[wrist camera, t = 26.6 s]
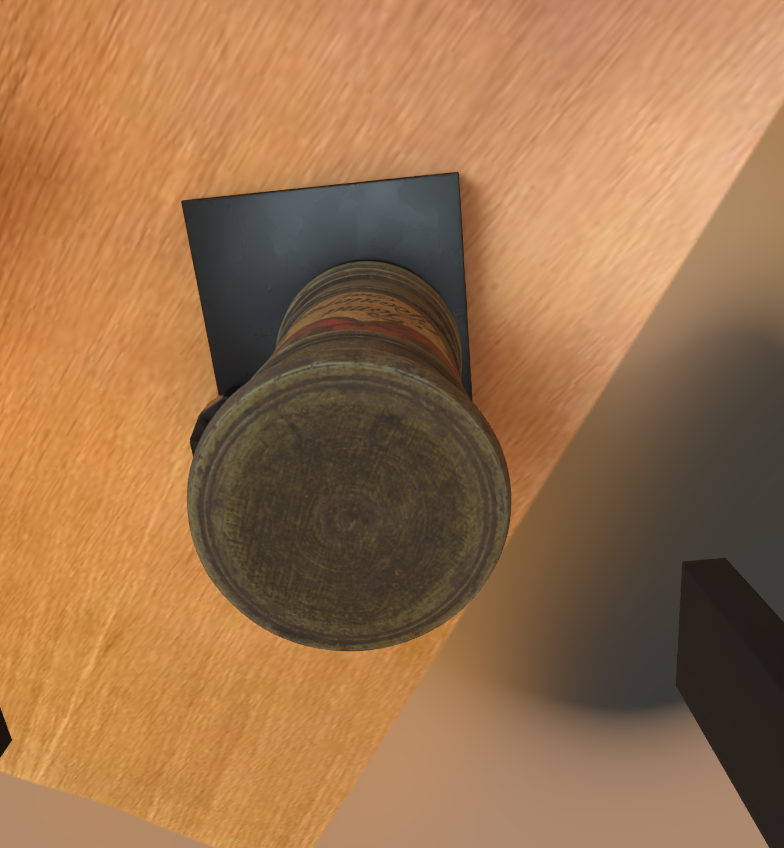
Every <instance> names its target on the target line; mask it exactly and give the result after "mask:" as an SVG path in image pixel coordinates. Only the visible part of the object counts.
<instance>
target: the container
mask: <svg viewBox="0 0 784 848" xmlns="http://www.w3.org/2000/svg"><path fill="white" fill-rule="evenodd" d="M461 374H462V348H461V340H460V336H459V331H458V328H457V325H456V322H455V320H454V318H453V316H452V314H451V312H450V310H449V308H448V306H447V305H446V303H445V302H444V300H443V299H442V298H441V296H440V295H439V294H438V293H437V292H436V291H435V290H434V289H433V288H432V287H431V286H430V285H429V284H428V283H427V282H426V281H424V280H423V279H422V278H420V277H419V276H417V275H416V274H414V273H412V272H410V271H408V270H406V269H404V268H401V267H399V266H396V265H392V264H388V263H383V262H376V261H358V262H351V263H346V264H342V265H339V266H336V267H333V268H331V269H329V270H327V271H325V272H323V273H321V274H320V275H318V276H317V277H315V278H314V279H312V280H311V281H310V282H309V283H308V284H306V285H305V286H304V287H303V288H302V289H301V291H300V292H299V293H298V294H297V295H296V297H295V298H294V300H293V301H292V303H291V304H290V306H289V308H288V310H287V312H286V314H285V317H284V319H283V322H282V324H281V327H280V330H279V333H278V338H277V343H276V347H275V350H274V352H273V354H272V355H271V357H270V358H269V359H268V361H267V362H266V363H265V364H264V365H263V366H262V367H261V368H260V369H259V370H258V371H257V372H256V374H255V375H254V376H253V377H252V379H251V380H250V381H248V382H247V383H246V384H245V385H243V386H242V387H241V388H239V389H238V390H237V391H236V392H235V393H234V394H233V395H232V396H231V397H229V398H228V399H227V401H226V402H225V403H224V404H223V405H222V406H221V407H220V408H219V410H218V411H217V412H216V413H215V415H214V416H213V418H212V419H211V421H210V422H209V424H208V425H207V427H206V429H205V431H204V432H203V434H202V436H201V439H200V441H199V443H198V445H197V448H196V451H195V454H194V457H193V460H192V464H191V468H190V472H189V479H188V490H187V507H188V519H189V526H190V531H191V535H192V539H193V542H194V545H195V548H196V551H197V554H198V556H199V558H200V560H201V562H202V564H203V566H204V568H205V570H206V572H207V574H208V575H209V577H210V578H211V580H212V581H213V583H214V584H215V585H216V587H217V588H218V589H219V590H220V592H221V593H222V594H223V595H224V596H225V597H226V598H227V599H228V600H229V601H230V602H231V603H232V604H233V605H234V606H235V607H236V608H237V609H238V610H239V611H240V612H241V613H243V614H244V615H245V616H246V617H248V618H249V619H250V620H252V621H253V622H255V623H256V624H258V625H259V626H261V627H262V628H264V629H266V630H268V631H269V632H271V633H273V634H275V635H278V636H280V637H282V638H284V639H287V640H290V641H292V642H295V643H298V644H301V645H305V646H309V647H314V648H318V649H325V650H334V651H364V650H373V649H380V648H385V647H390V646H394V645H397V644H401V643H404V642H407V641H409V640H412V639H415V638H417V637H420V636H422V635H424V634H426V633H428V632H430V631H432V630H434V629H435V628H437V627H439V626H440V625H442V624H443V623H445V622H446V621H448V620H449V619H451V618H452V617H453V616H454V615H456V614H457V613H458V612H459V611H461V610H462V609H463V608H464V607H465V606H466V605H467V604H468V603H469V602H470V601H471V600H472V599H473V598H474V597H475V595H476V594H477V593H478V592H479V591H480V589H481V588H482V587H483V585H484V584H485V582H486V581H487V579H488V578H489V576H490V575H491V573H492V571H493V570H494V568H495V566H496V564H497V562H498V560H499V558H500V555H501V553H502V550H503V547H504V544H505V541H506V538H507V534H508V530H509V524H510V515H511V486H510V479H509V473H508V468H507V464H506V460H505V457H504V454H503V451H502V448H501V446H500V443H499V441H498V439H497V437H496V435H495V433H494V432H493V430H492V428H491V426H490V425H489V423H488V422H487V420H486V419H485V417H484V416H483V415H482V413H481V412H480V411H479V409H478V408H477V406H476V405H475V404H474V403H473V402H472V401H471V400H470V398H469V396H468V394H467V393H466V391H465V389H464V387H463V384H462V382H461Z"/></svg>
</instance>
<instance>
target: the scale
mask: <svg viewBox="0 0 784 848" xmlns="http://www.w3.org/2000/svg"><path fill="white" fill-rule="evenodd" d="M181 203H182V208H183V213H184V218H185V223H186V228H187V234H188V239H189V244H190V249H191V254H192V259H193V265H194V270H195V275H196V280H197V285H198V290H199V296H200V301H201V306H202V311H203V316H204V321H205V327H206V332H207V337H208V342H209V347H210V352H211V358H212V363H213V368H214V373H215V378H216V383H217V389H218V394H219V396H218V397H216V398H215V399H214V400H212V401H211V402H209V403H208V405H207V406H206V407H205V408H204V410H203V411H202V412H201V413H200V415H199V417H198V419H197V422H196V425H195V427H194V430H193V433H192V435H191V438H190V444H191V449H192V454H193V457H194V454H195V451H196V448H197V445H198V443H199V441H200V439H201V436H202V434H203V432H204V431H205V429H206V427H207V425H208V424H209V422H210V421H211V419H212V418H213V416H214V415H215V413H216V412H217V411H218V410H219V408H220V407H221V406H222V405H223V404H224V403H225V402H226V401H227V399H228V398H229V397H231V396H232V395H233V394H234V393H235V392H236V391H237V390H238V389H239V388H241V387H242V386H243V385H245V384H246V383H247V382H248V381H250V380H251V379H252V377H253V376H254V375H255V374H256V372H257V371H258V370H259V369H260V368H261V367H262V366H263V365H264V364H265V363H266V362H267V361H268V359H269V358H270V357H271V355H272V354H273V352H274V350H275V347H276V343H277V338H278V333H279V330H280V327H281V324H282V322H283V319H284V317H285V314H286V312H287V310H288V308H289V306H290V304H291V303H292V301H293V300H294V298H295V297H296V295H297V294H298V293H299V292H300V291H301V289H302V288H303V287H304V286H305V285H306V284H308V283H309V282H310V281H311V280H312V279H314V278H315V277H317V276H318V275H320V274H321V273H323V272H325V271H327V270H329V269H331V268H333V267H336V266H339V265H342V264H346V263H351V262H358V261H376V262H383V263H388V264H392V265H396V266H399V267H401V268H404V269H406V270H408V271H410V272H412V273H414V274H416V275H417V276H419V277H420V278H422V279H423V280H424V281H426V282H427V283H428V284H429V285H430V286H431V287H432V288H433V289H434V290H435V291H436V292H437V293H438V294H439V295H440V296H441V298H442V299H443V300H444V302H445V303H446V305H447V306H448V308H449V310H450V312H451V314H452V316H453V318H454V320H455V322H456V325H457V328H458V331H459V336H460V340H461V348H462V374H461V382H462V384H463V387H464V389H465V391H466V393H467V394H468V396H469V398H470V400H471V401H472V386H471V369H470V352H469V335H468V318H467V302H466V285H465V268H464V251H463V234H462V218H461V201H460V184H459V173H458V172H453V173H443V174H434V175H424V176H414V177H405V178H395V179H385V180H376V181H366V182H356V183H347V184H337V185H327V186H318V187H308V188H298V189H289V190H279V191H270V192H260V193H250V194H241V195H231V196H221V197H212V198H202V199H192V200H183V201H182V202H181Z"/></svg>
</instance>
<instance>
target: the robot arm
mask: <svg viewBox="0 0 784 848" xmlns="http://www.w3.org/2000/svg"><path fill="white" fill-rule="evenodd" d="M676 687H677V688H678V690H679V692H680V693H681V695H682V697H683V699H684V700H685V702H686V704H687V706H688V707H689V709H690V711H691V712H692V714H693V716H694V718H695V720H696V721H697V723H698V725H699V726H700V728H701V730H702V732H703V733H704V735H705V737H706V739H707V740H708V742H709V744H710V746H711V747H712V749H713V751H714V752H715V754H716V756H717V758H718V759H719V761H720V763H721V765H722V766H723V768H724V770H725V771H726V773H727V775H728V777H729V779H730V780H731V782H732V784H733V785H734V787H735V789H736V791H737V792H738V794H739V796H740V798H741V799H742V801H743V803H744V804H745V806H746V808H747V810H748V811H749V813H750V815H751V817H752V818H753V820H754V822H755V824H756V825H757V827H758V829H759V830H760V832H761V834H762V836H763V837H764V839H765V841H766V843H767V844H768V846H769V848H784V622H783V621H782V620H781V619H780V618H779V617H778V615H776V613H775V612H774V611H773V610H772V609H771V608H770V607H769V606H768V605H767V603H766V602H765V601H764V600H763V599H762V598H761V597H760V596H759V594H757V592H756V591H755V590H754V589H753V588H752V587H751V586H750V585H749V583H747V581H746V580H745V579H744V578H743V577H742V576H741V575H740V574H739V573H738V571H737V570H736V569H735V568H734V567H733V566H732V565H731V564H730V563H729V561H728V560H727V559H726V558H719V559H707V560H696V561H685V562H682V580H681V599H680V617H679V636H678V655H677V674H676ZM11 741H12V738H11V736H10V733H9V730H8V728H7V725H6V722H5V719H4V717H3V714H2V711H1V708H0V757H1V756H2V754H3V753H4V751H5V750H6V748H7V747H8V745H9V744H10V742H11Z"/></svg>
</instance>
